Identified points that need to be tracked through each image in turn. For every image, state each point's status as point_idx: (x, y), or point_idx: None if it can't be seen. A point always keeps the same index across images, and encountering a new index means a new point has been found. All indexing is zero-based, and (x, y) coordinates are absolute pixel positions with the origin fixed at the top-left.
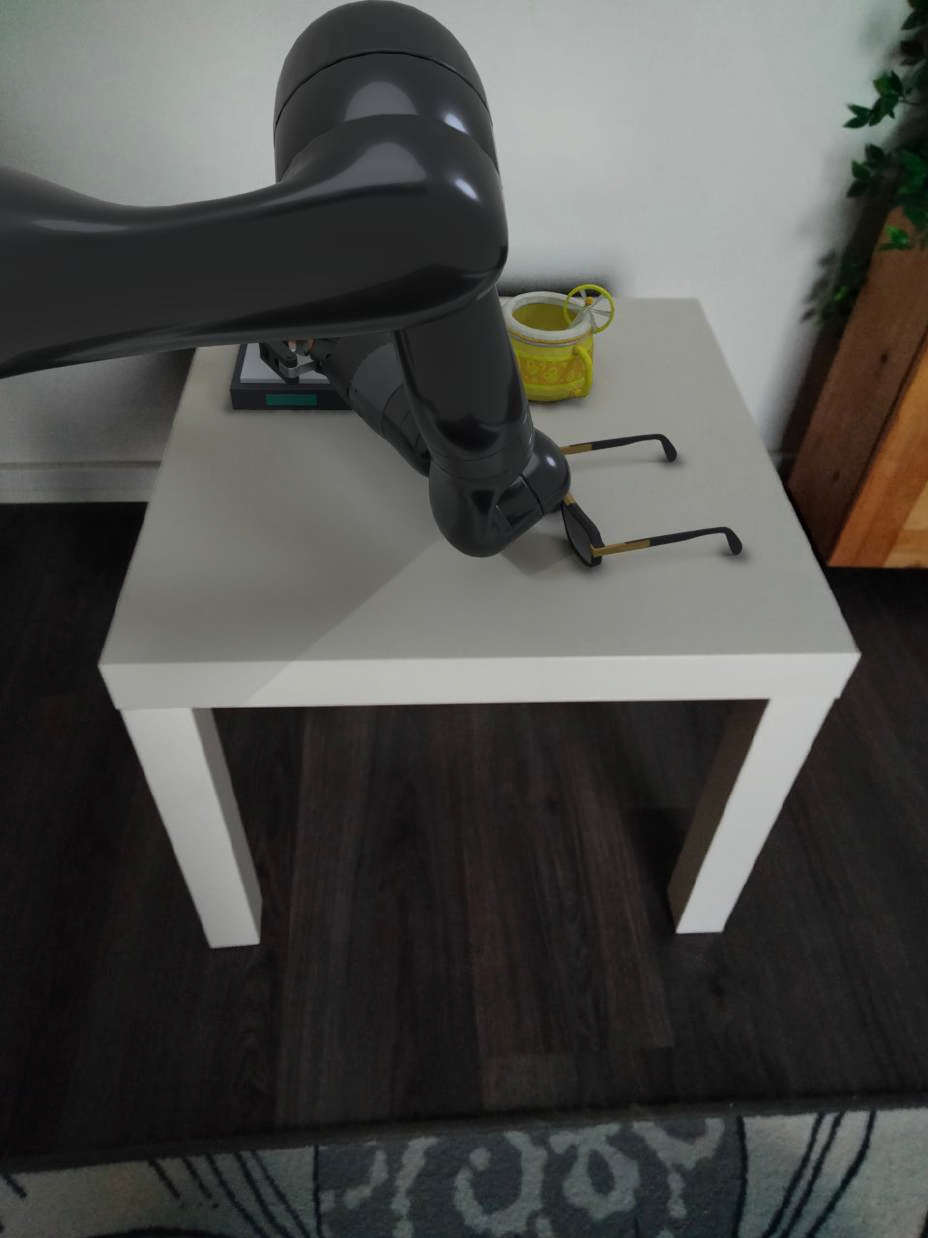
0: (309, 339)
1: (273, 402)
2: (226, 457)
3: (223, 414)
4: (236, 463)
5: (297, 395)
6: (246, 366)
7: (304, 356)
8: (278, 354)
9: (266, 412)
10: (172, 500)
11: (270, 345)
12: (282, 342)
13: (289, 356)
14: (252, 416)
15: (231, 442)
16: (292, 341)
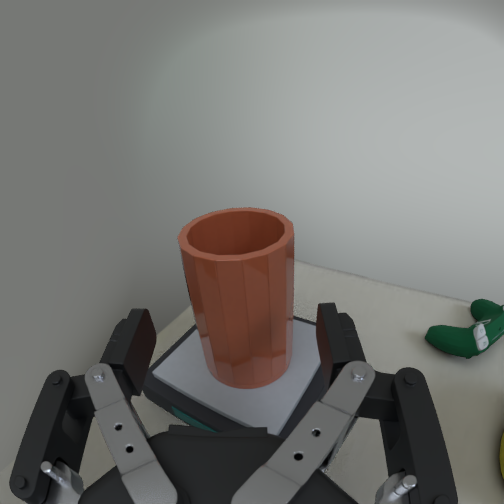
0: (248, 362)
1: (181, 417)
2: (83, 464)
3: (132, 399)
4: (83, 480)
5: (207, 428)
6: (174, 356)
7: (72, 491)
8: (17, 458)
9: (173, 422)
10: (9, 476)
11: (29, 424)
12: (49, 432)
13: (16, 484)
14: (154, 420)
15: (104, 446)
16: (220, 358)
